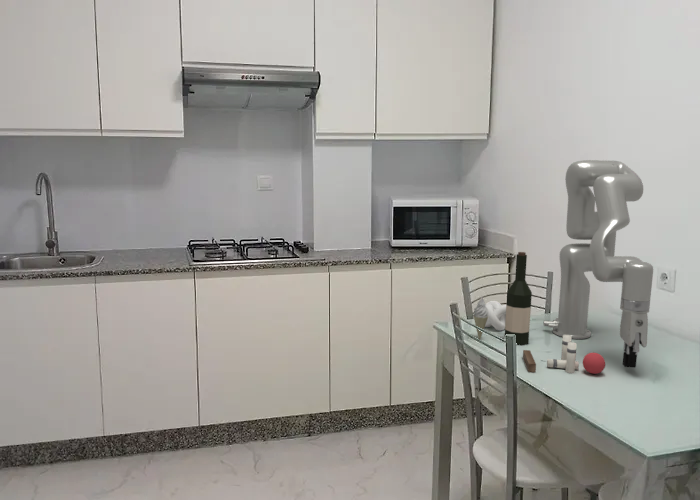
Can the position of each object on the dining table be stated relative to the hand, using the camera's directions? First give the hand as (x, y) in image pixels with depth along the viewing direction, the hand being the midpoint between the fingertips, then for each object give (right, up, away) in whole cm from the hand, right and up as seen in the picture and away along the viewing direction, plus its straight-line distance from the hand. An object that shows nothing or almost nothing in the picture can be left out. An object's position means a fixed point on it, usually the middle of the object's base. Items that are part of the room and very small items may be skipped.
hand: (629, 366), depth 174 cm
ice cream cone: (-37, +4, +28) cm, 47 cm away
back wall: (-28, 0, +4) cm, 28 cm away
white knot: (-28, +6, +41) cm, 50 cm away
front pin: (-14, 0, +1) cm, 14 cm away
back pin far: (-16, 0, +6) cm, 17 cm away
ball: (-11, +1, -2) cm, 11 cm away
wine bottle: (-25, +3, +26) cm, 36 cm away
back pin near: (-17, -1, -1) cm, 17 cm away
